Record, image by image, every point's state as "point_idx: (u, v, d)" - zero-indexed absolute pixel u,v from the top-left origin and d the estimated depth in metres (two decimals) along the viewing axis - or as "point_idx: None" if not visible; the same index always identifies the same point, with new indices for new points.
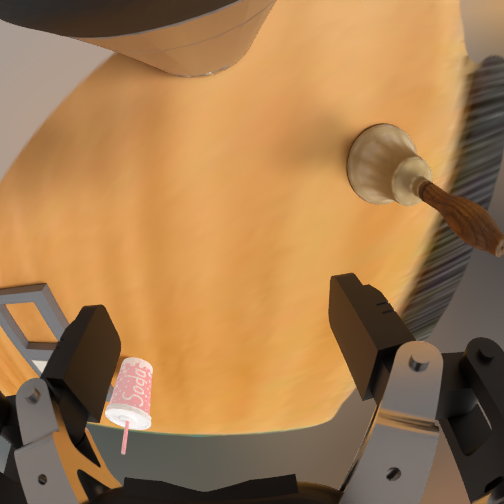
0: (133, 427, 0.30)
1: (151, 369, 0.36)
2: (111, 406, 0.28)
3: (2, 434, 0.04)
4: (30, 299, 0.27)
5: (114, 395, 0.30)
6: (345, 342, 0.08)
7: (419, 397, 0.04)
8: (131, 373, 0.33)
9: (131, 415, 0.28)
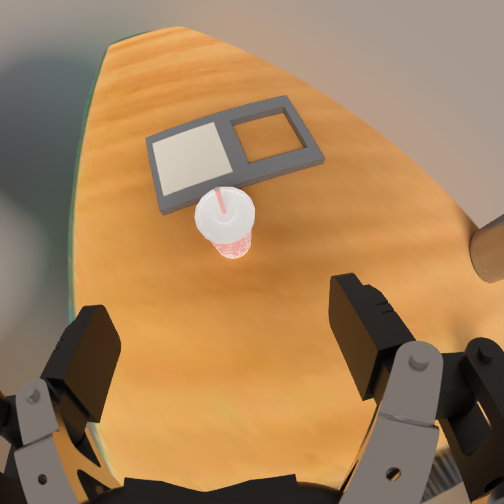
0: (199, 218, 0.28)
1: (237, 257, 0.36)
2: None
3: (2, 434, 0.04)
4: (309, 144, 0.39)
5: None
6: (345, 342, 0.08)
7: (419, 397, 0.04)
8: None
9: (238, 218, 0.28)
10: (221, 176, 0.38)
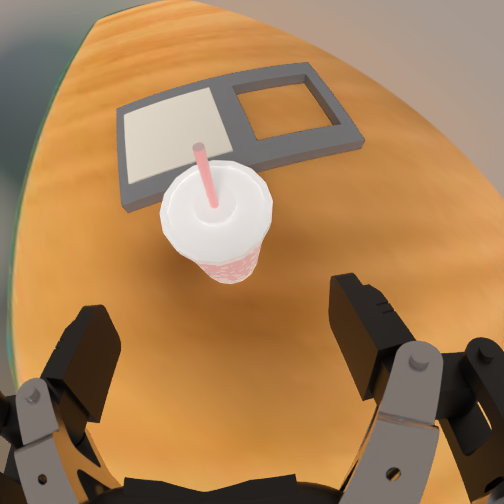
0: (168, 215, 0.15)
1: (234, 282, 0.23)
2: None
3: (2, 434, 0.04)
4: (343, 121, 0.26)
5: None
6: (345, 342, 0.08)
7: (419, 397, 0.04)
8: None
9: (240, 217, 0.15)
10: (215, 156, 0.25)
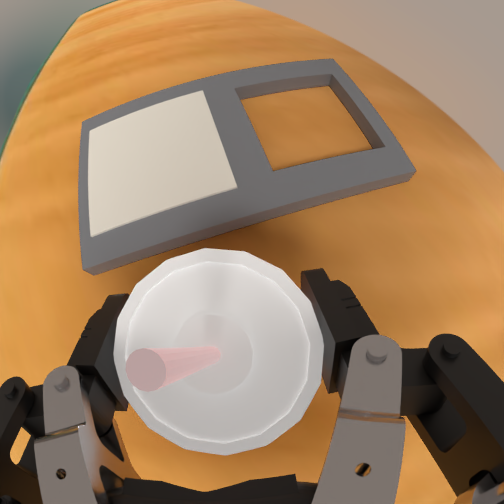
0: None
1: None
2: None
3: (25, 426, 0.05)
4: (387, 142, 0.19)
5: None
6: None
7: (380, 390, 0.05)
8: None
9: (263, 375, 0.07)
10: (211, 196, 0.17)
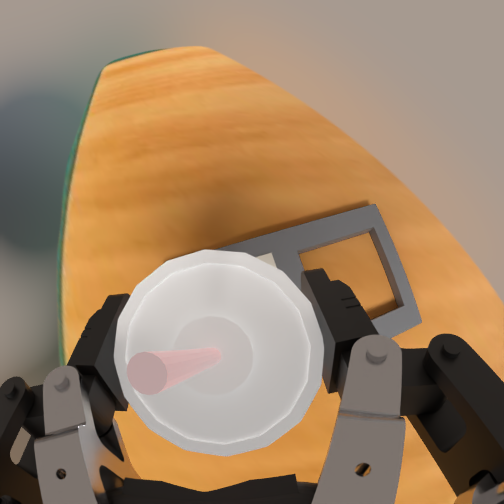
0: None
1: None
2: None
3: (25, 426, 0.05)
4: (406, 300, 0.26)
5: None
6: None
7: (380, 390, 0.05)
8: None
9: (263, 376, 0.07)
10: None
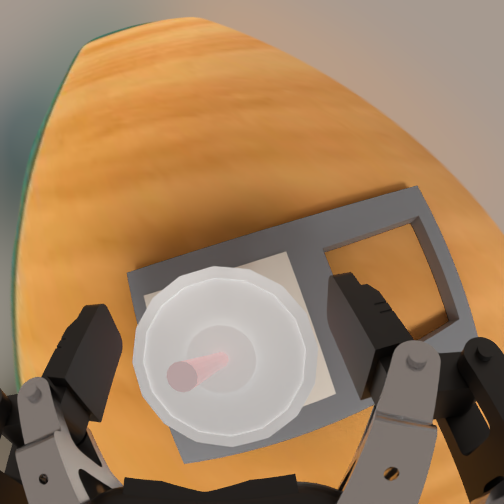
0: (147, 366, 0.09)
1: None
2: None
3: (3, 433, 0.04)
4: (461, 312, 0.18)
5: None
6: (343, 342, 0.08)
7: (416, 396, 0.04)
8: None
9: (265, 377, 0.08)
10: (311, 403, 0.16)
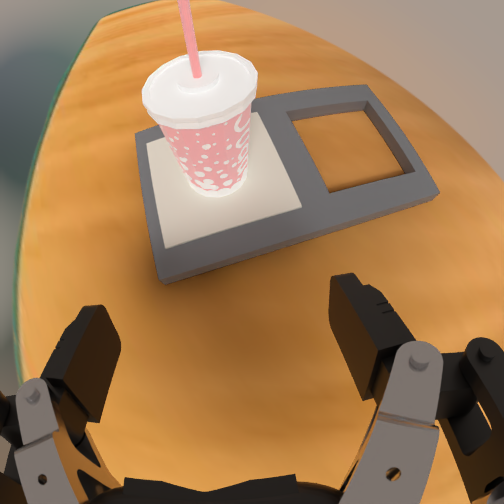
0: (150, 90, 0.13)
1: (221, 194, 0.20)
2: None
3: (2, 434, 0.04)
4: (416, 167, 0.22)
5: None
6: (345, 342, 0.08)
7: (419, 397, 0.04)
8: (248, 145, 0.18)
9: (223, 85, 0.12)
10: (280, 214, 0.20)
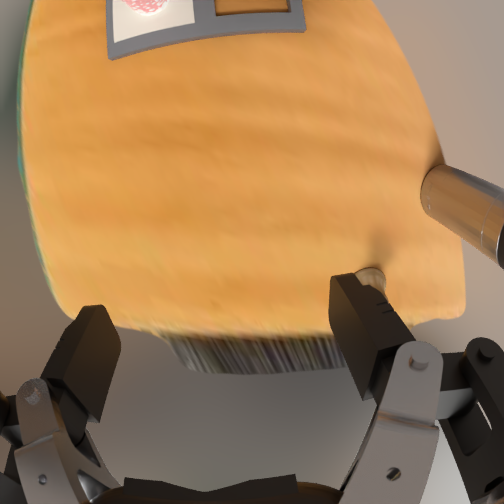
0: None
1: (149, 14, 0.23)
2: None
3: (2, 434, 0.04)
4: (294, 10, 0.24)
5: None
6: (345, 342, 0.08)
7: (419, 397, 0.04)
8: None
9: None
10: (180, 25, 0.24)
